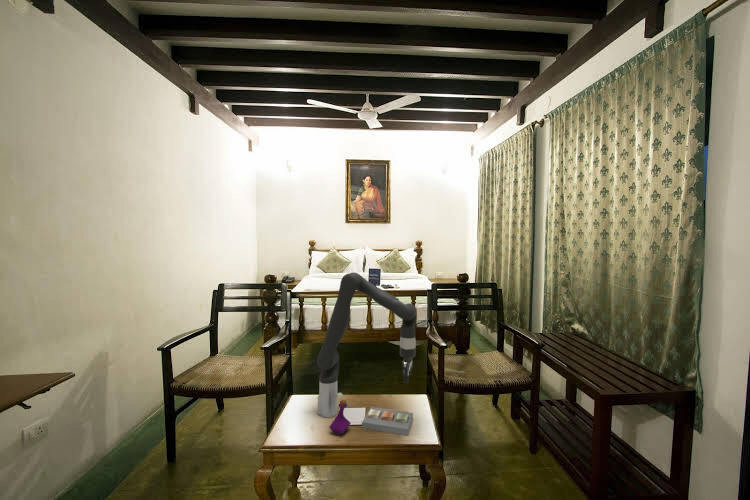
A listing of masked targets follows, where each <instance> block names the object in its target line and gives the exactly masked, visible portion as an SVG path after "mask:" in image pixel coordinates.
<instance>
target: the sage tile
mask: <svg viewBox="0 0 750 500" xmlns="http://www.w3.org/2000/svg"><path fill="white" fill-rule="evenodd" d="M407 421H408V414H401V413H398V415H397V417H396V422H401V423H407Z"/></svg>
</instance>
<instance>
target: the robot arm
mask: <svg viewBox="0 0 750 500" xmlns="http://www.w3.org/2000/svg"><path fill="white" fill-rule="evenodd" d="M355 292H360V293H362V294H364V295H366V296H368V297H369V298H370V299H371V300H373V301H374V302H375V303H376V304H378V305H379V306H381V307H383V308H385V309H387V310H388V311H390V312H392V313H393V314H395V316H397V317H398V318H400V319H402V321H401V322H402V323H401V326H400V339H399V355H400V357H402V358H403V360H402V362H401V363H402V364H401V365H402V367H401V369H402V371H401V372H402V373H401V376H403V377H402V378H403V384H409V377H412V369H413V358H415V357H416V353H417V352H416V350H417V348H416V346H417V344H416V343H417V341H416V322H417V308H416V306H415V305H414V304H413V303H409V302H408V303H404V302H402V301H400V299H399V298H398V297H396V296H395V295H392V294H390V293H389V292H387V291H385V290H383V289H381V288H379V287H378V286H376V285H375V284H373V283H372V282H370V281H368V280H367V279H366V278H365V277H363V276H362V275H360V274H359V273H358V272H349V273H346V274H345V275H343V277H342V278H341V280H340V284H339V290H338V294H337V298H336V301H335V304H334V306H333V310H332V313H331V316H330V318H329V319H330V320H329V323H328V327H327V329H326V332H325V337H324V340H323V343H322V346H321V348H320V351H319V353H318V355H317V358H316V364H317V366H318V368H319V369H320V370H321V371H320V374H319V376H318V377H319V381H318V382H319V387H318V388H319V394H318V396H317V415H318V416H320V417H323V418H333V417H336V416H337V415H338V395H337V394H338V376H339V372H340V371H339V370H340V357H339V356H340V354H339V352H338V350H337V348H338V346H339V344H340V342H341V340H342V338H343V337H344V335H345V332H346V330H347V328H348V325H349V323H350V322H349V321H350V319H351V303H352V300H353V297H354V295H355ZM336 395H337V397H336Z"/></svg>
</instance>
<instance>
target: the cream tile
mask: <svg viewBox="0 0 750 500" xmlns="http://www.w3.org/2000/svg"><path fill="white" fill-rule="evenodd" d="M367 413H368V412H367ZM380 415H381V411H380V410H374V409H371V410H370V412H369V413H368V418H374V419H379V417H380Z"/></svg>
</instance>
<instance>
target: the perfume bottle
mask: <svg viewBox="0 0 750 500" xmlns="http://www.w3.org/2000/svg"><path fill="white" fill-rule="evenodd" d="M336 397H337V398H338V397H339V398H341V400H340V401H339V404H338V407H339V411H338V412H337V414H336V416H335V418H334V420H333V421H332V422H331V424H330V425H329V427H328V428H329V429H330V430H331V431H332V432H333V434H336V435H340V436H342V435H344V434H345V432H347V430H348V428H349V427H350V425H351V424H352V423H351V421H350V420H349V419H347V417H345V416H344V411H345V409H346V408H347V407H348V403H347V400H345V399H344V394H343V393H342V392H337V395H336Z"/></svg>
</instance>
